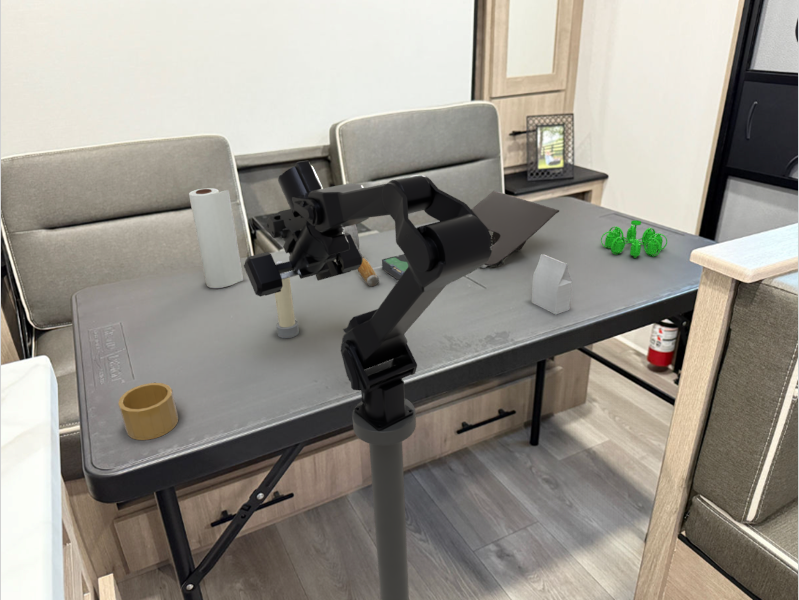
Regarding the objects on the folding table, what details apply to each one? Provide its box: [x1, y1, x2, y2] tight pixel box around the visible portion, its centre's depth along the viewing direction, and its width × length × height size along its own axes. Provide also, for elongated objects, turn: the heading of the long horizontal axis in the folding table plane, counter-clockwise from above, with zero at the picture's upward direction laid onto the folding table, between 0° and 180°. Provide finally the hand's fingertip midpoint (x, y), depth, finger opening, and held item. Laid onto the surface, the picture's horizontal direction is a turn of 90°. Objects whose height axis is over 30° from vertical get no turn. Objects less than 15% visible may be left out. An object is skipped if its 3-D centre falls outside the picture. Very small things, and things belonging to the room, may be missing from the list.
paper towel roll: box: [188, 187, 244, 289], centre depth 131 cm, size 7×6×21 cm
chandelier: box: [600, 220, 668, 259], centre depth 144 cm, size 15×15×7 cm
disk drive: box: [381, 253, 408, 281], centre depth 139 cm, size 10×3×15 cm
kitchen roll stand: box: [274, 260, 300, 339], centre depth 110 cm, size 4×4×14 cm
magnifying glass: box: [345, 224, 380, 287], centre depth 139 cm, size 13×3×25 cm
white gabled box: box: [531, 253, 573, 315], centre depth 118 cm, size 4×7×10 cm, turn 31°
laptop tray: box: [470, 190, 560, 269], centre depth 148 cm, size 23×23×9 cm
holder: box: [117, 382, 179, 441], centre depth 88 cm, size 7×7×5 cm
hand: (293, 284), depth 104 cm, fingers open, 9 cm apart
